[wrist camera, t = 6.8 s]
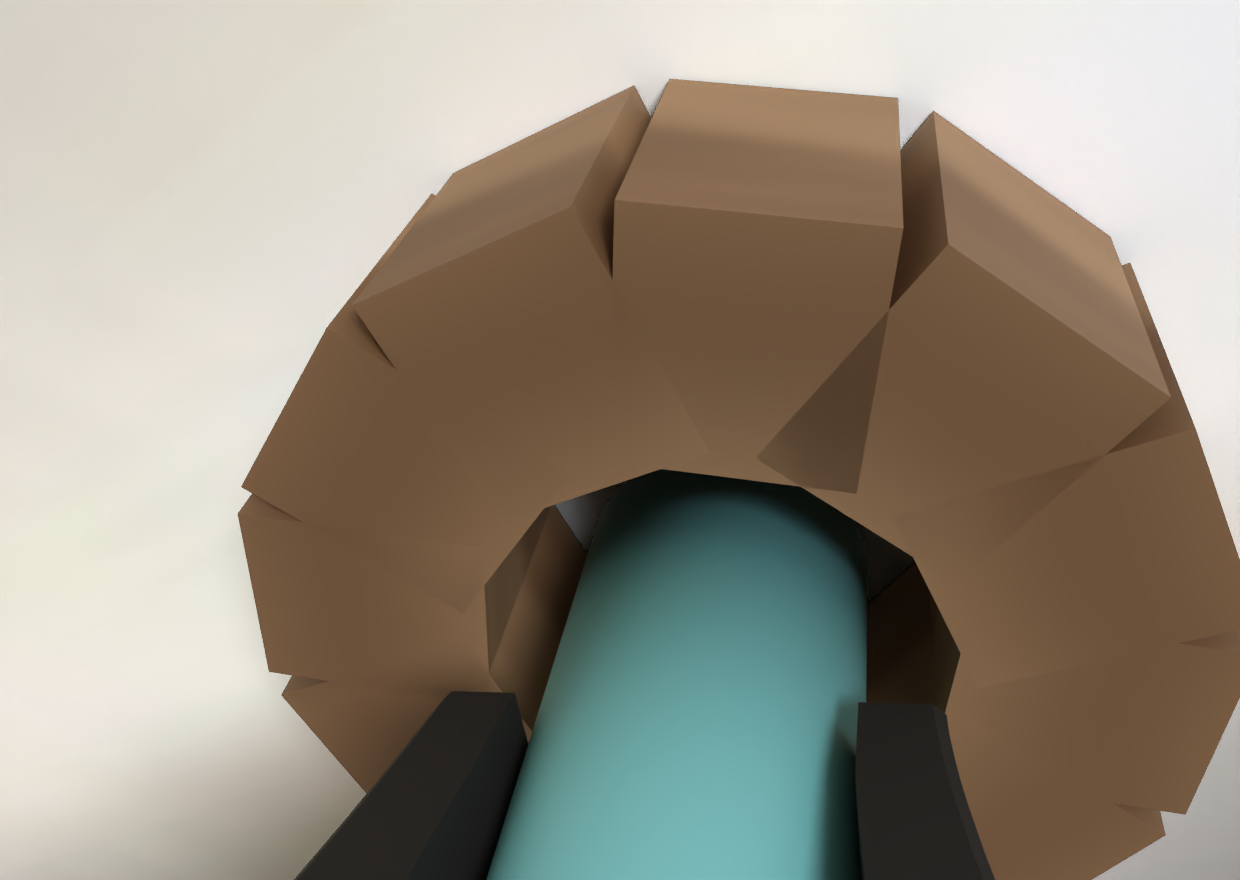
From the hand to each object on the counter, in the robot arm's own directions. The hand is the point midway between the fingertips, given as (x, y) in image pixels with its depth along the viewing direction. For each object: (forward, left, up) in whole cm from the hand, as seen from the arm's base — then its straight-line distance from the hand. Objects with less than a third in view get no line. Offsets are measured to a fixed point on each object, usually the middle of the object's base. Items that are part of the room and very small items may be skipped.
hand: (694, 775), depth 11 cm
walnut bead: (0, 0, -4) cm, 4 cm away
